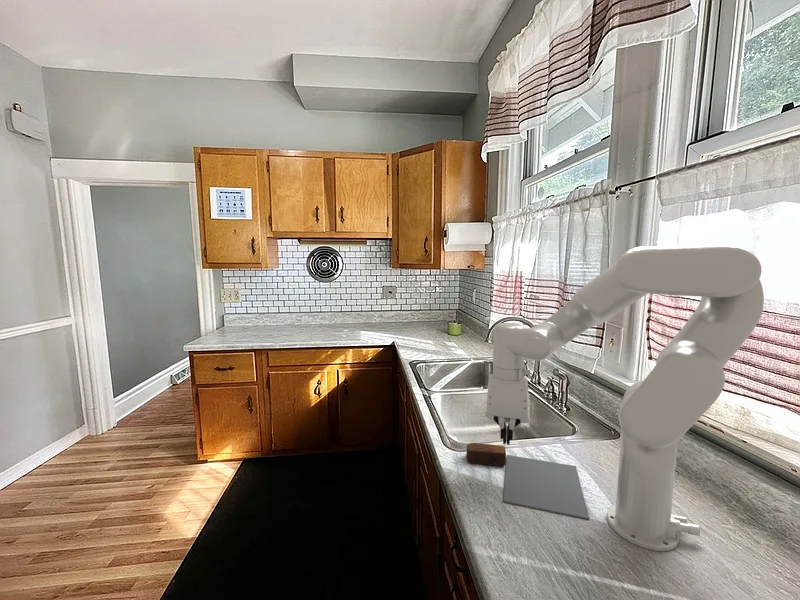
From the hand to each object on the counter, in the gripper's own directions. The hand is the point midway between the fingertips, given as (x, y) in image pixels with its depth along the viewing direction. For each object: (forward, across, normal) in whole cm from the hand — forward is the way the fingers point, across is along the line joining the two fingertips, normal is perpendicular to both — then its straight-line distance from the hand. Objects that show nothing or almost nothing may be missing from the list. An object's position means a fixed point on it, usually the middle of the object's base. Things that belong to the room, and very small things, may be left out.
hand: (506, 441), depth 92 cm
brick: (+6, +7, -2) cm, 9 cm away
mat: (+10, -9, -1) cm, 13 cm away
